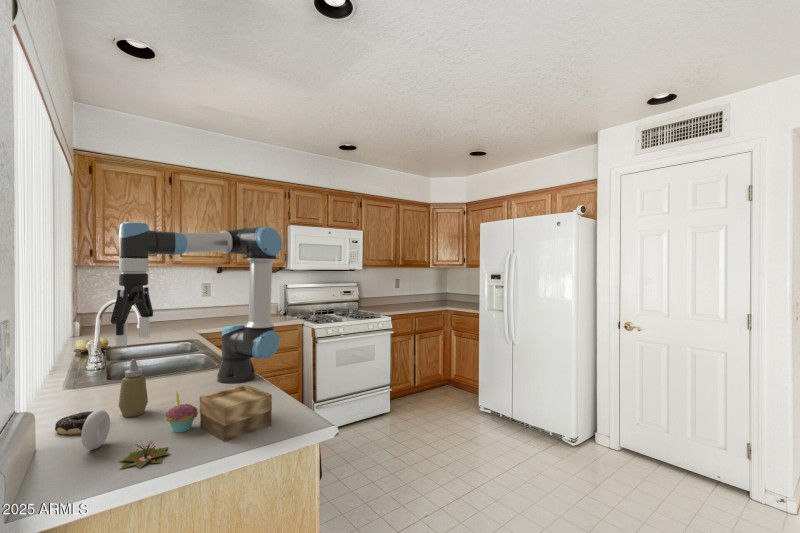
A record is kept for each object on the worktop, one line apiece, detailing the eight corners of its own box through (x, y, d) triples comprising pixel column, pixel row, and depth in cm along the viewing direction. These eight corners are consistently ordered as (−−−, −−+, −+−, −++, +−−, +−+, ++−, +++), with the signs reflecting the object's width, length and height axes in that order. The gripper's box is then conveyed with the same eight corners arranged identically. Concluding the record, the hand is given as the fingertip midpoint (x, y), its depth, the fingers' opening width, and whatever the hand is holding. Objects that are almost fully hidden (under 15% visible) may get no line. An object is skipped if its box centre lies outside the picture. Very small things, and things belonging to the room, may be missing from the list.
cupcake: (183, 436, 114) (183, 395, 114) (158, 433, 116) (158, 392, 116) (203, 424, 123) (204, 385, 123) (180, 422, 124) (180, 384, 124)
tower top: (245, 399, 132) (245, 384, 132) (271, 410, 123) (271, 394, 123) (199, 412, 120) (199, 396, 120) (224, 425, 111) (224, 407, 111)
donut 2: (93, 456, 102) (93, 417, 102) (78, 457, 102) (78, 418, 101) (112, 439, 112) (112, 403, 112) (98, 440, 111) (98, 404, 111)
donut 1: (92, 435, 115) (92, 421, 115) (45, 438, 113) (45, 424, 113) (111, 420, 126) (111, 407, 126) (69, 423, 123) (69, 410, 123)
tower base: (246, 414, 132) (246, 399, 132) (271, 426, 123) (271, 410, 123) (200, 428, 121) (200, 412, 121) (223, 443, 111) (223, 425, 111)
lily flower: (167, 467, 98) (167, 449, 98) (109, 476, 94) (109, 456, 94) (176, 446, 109) (176, 429, 109) (124, 453, 105) (124, 436, 105)
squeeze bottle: (115, 414, 130) (115, 359, 130) (144, 407, 136) (144, 355, 136) (121, 420, 125) (122, 363, 125) (151, 413, 131) (151, 359, 131)
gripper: (140, 271, 134) (140, 334, 135) (95, 273, 110) (95, 350, 110) (164, 271, 136) (164, 334, 136) (125, 274, 111) (125, 349, 111)
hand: (133, 341), depth 123 cm, fingers open, 13 cm apart
